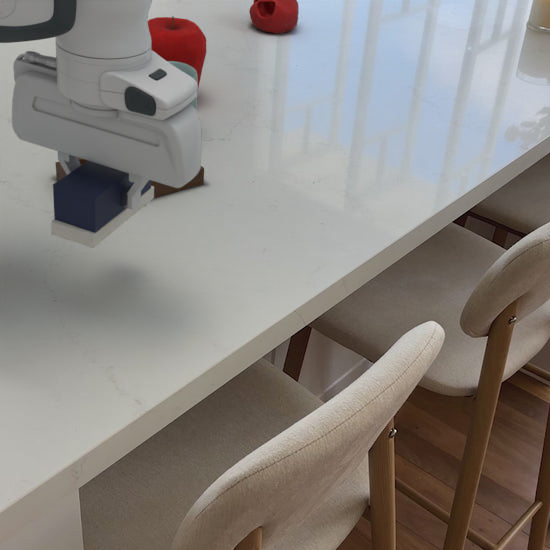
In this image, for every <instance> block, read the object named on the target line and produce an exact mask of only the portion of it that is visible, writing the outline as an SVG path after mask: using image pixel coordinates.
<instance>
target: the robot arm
mask: <svg viewBox="0 0 550 550" xmlns="http://www.w3.org/2000/svg"><path fill="white" fill-rule="evenodd" d="M152 3H153V0H0V44H9V43H11V44H12V43H23V42H32V41H40V40H46V39H53V38H55V56H49V55H44V54H41V53H39V52H37V51H34V50H26V51H25V52H24V53H21V54H19V55H18V56H16V58H15V59H14V61H13V64H12V65H13V66H12V67H13V68H12V69H13V81H14V87H13V92H12V103H11V127H12V130H13V132H14V134H15V135H16V137H17V138H18V139H19V140H21V141H23V142H26V143H30V144H34V145H37V146H40V147H43V148H47V149H49V150H53V151H56V152H57V160H58V162H60V164H61V165H62V167H63V169H64V171H65V172H66V174H67V175H68V174H69V173H71V172H72V171H74V170H75V169H77V168H78V167H80V166H81V164H80V162H79V160H78V158H81V159H85V160H88V161H91V162H94V163H97V164H101V165H104V166H107V167H110V168H114V169H117V170H120V171H123V172H126V173H129V181H130V182H134V184H133V185H132V186H128V187H127V188H126V189H125V190H123V191H122V192H120V200H121V201H120V205H121V206H122V207H125V208H128V209H131V210H134V209H135V208H137V207H138V206H139V205H140V202H141V190H142V189H143V188H144V186H145V185H146V183H147V182H148V181H149V180H152V181H155V182H159V183H162V184H165V185H168V186H171V187H175V188H181V187H182V186H184V185H185V184H187V183H188V182H189V181H191V180H192V179H193V178H194V177H195V176H196V175H197V174H198V172H199V171H200V168H201V166H202V159H203V156H202V155H203V140H202V138H203V137H202V136H203V135H202V124H201V119H200V115H199V113H198V111H197V108H196V109H195V108H194V107H193V106H192V105H191V104H190V103H191V102H192V101H193V100H194V99H195V98H196V96H197V97H198V92H199V88H198V85H197V82H196V81H195V79H193V78H192V77H191V76H189V75H188V74H186V73H184V72H183V71H181V70H180V69H178V68H176V67H175V66H173V65H172V64H170V63H169V62H167V61H166V60H165V59H163V58H162V57H160V56H159V55H158V54H157V53H155V52H154V51H152V50H151V43H152V41H151V35H150V32H149V27H148V21H149V12H150V9H151V7H152Z"/></svg>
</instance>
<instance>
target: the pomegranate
mask: <svg viewBox="0 0 550 550" xmlns="http://www.w3.org/2000/svg"><path fill="white" fill-rule="evenodd" d="M299 13H300V11H299V2H298V0H253V3H252V5H251V6H250V7H249V13H248V14H249V19H250V21H251V23H252V25H254V26H255V27H256V28H257V29H259V30H260V31H262V32H265V33H272V34H284V33H287V32H291V31H292V30H294V29H295V28H296V27H297V25H298V21H299Z"/></svg>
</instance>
